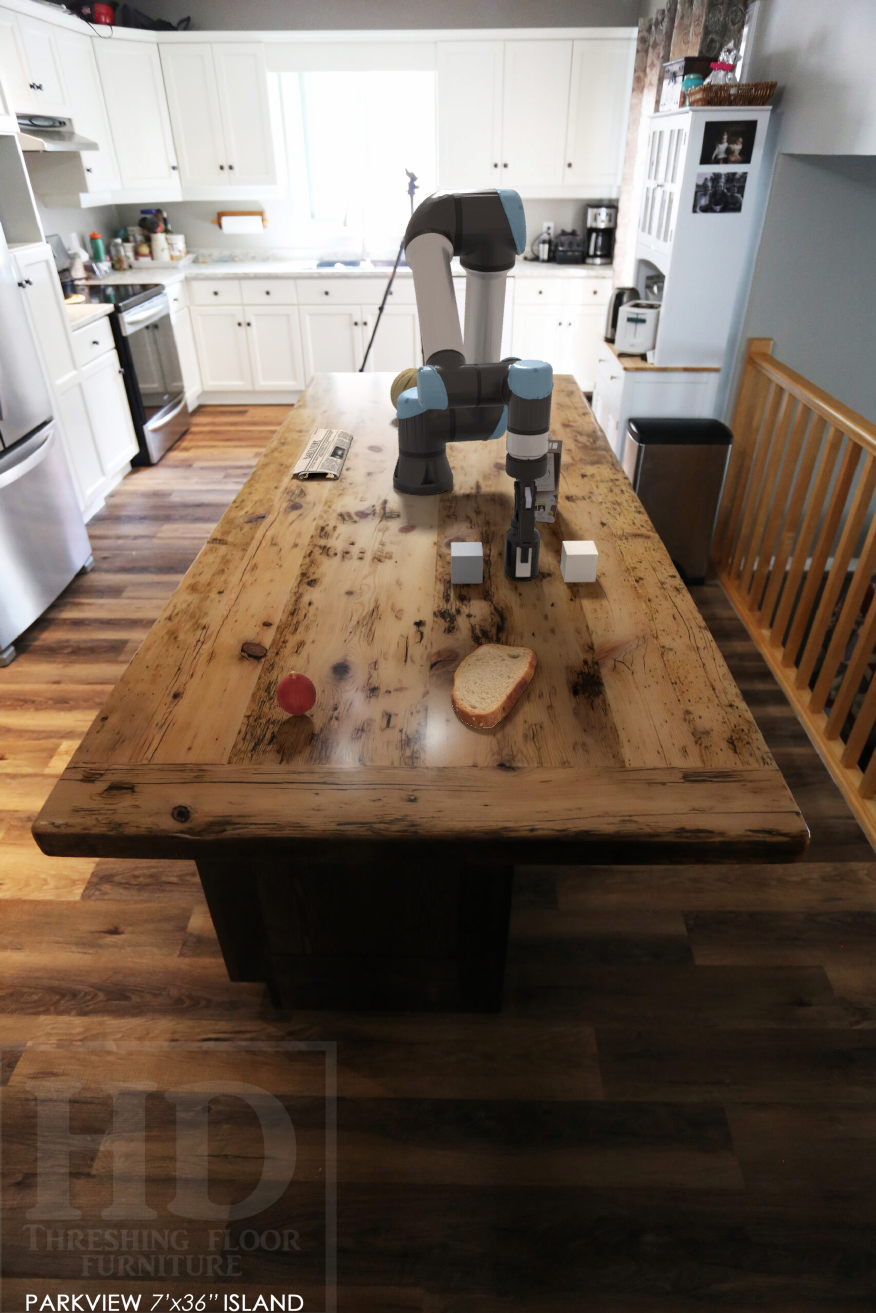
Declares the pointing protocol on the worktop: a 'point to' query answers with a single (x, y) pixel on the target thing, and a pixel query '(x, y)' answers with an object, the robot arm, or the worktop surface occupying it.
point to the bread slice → (491, 683)
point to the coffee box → (549, 485)
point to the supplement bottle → (511, 550)
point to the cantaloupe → (403, 384)
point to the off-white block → (579, 561)
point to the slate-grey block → (466, 562)
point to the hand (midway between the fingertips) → (521, 566)
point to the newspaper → (324, 452)
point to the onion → (296, 694)
